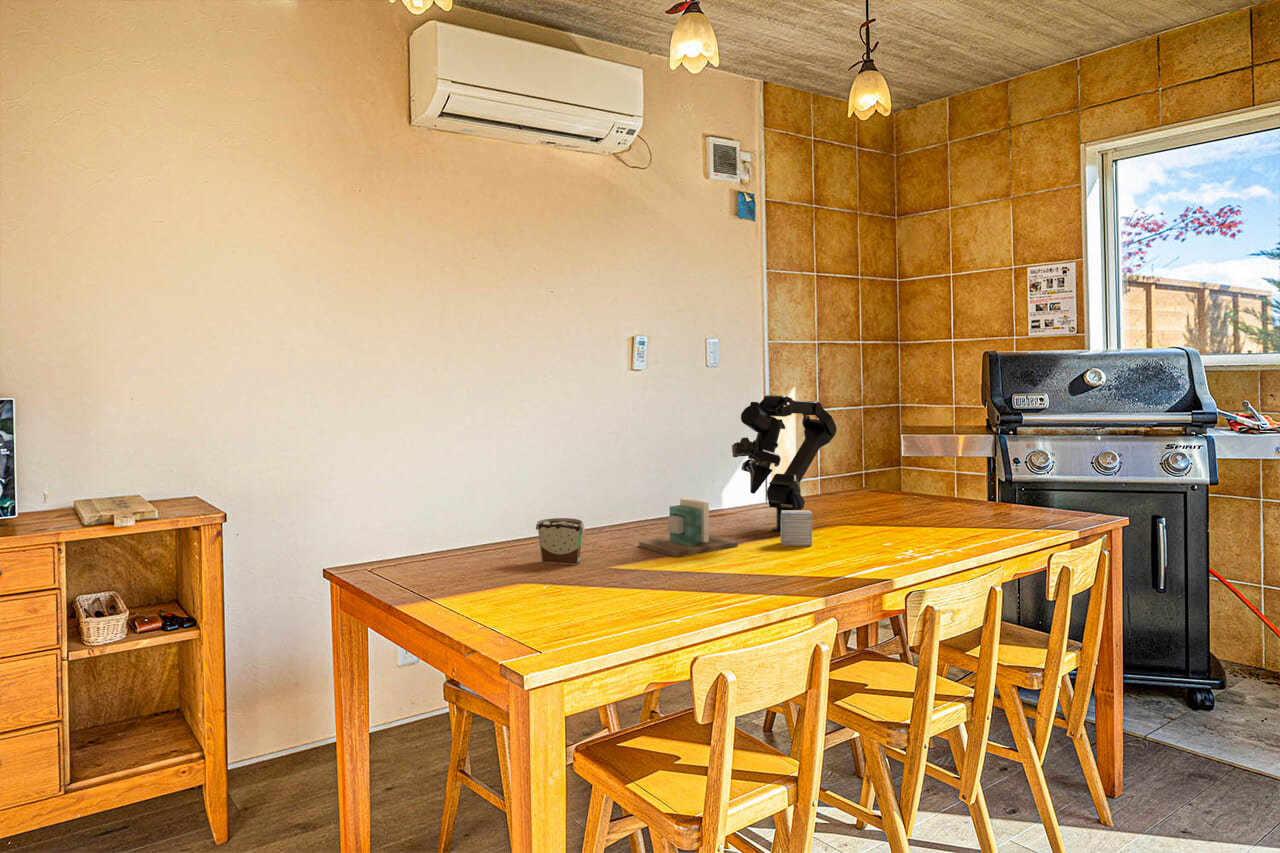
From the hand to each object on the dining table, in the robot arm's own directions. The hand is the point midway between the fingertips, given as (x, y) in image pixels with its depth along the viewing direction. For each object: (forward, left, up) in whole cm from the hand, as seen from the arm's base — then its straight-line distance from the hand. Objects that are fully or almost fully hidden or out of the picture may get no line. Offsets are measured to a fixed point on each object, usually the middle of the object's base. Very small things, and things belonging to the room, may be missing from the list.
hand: (752, 493), depth 228 cm
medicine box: (+1, +12, -13) cm, 18 cm away
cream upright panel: (+16, -13, -11) cm, 23 cm away
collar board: (+14, -12, -12) cm, 22 cm away
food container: (+42, -33, -13) cm, 55 cm away
